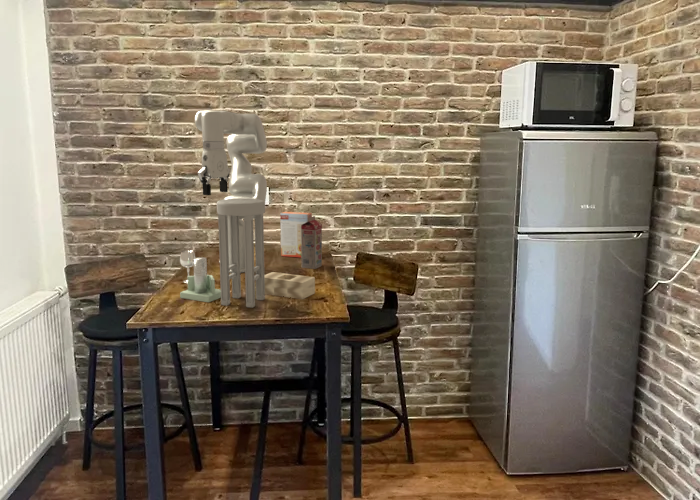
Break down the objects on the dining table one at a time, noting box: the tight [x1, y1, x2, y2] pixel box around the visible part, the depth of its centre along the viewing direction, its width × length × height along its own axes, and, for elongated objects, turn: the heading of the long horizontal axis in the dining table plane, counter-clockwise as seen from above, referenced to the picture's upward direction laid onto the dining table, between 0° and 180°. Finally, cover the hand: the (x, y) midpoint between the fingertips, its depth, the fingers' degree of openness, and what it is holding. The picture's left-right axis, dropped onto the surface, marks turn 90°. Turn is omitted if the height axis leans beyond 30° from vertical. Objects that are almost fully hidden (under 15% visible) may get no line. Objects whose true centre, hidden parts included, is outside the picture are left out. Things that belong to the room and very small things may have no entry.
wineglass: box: [179, 249, 196, 284], centre depth 228 cm, size 6×6×12 cm
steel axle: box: [193, 257, 208, 294], centre depth 205 cm, size 4×4×12 cm
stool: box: [216, 198, 266, 308], centre depth 199 cm, size 16×16×35 cm
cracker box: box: [280, 211, 313, 258], centre depth 275 cm, size 14×6×21 cm, turn 71°
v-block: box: [179, 274, 221, 303], centre depth 207 cm, size 10×12×7 cm
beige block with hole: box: [264, 271, 316, 300], centre depth 213 cm, size 18×9×6 cm, turn 65°
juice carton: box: [301, 215, 323, 270], centre depth 254 cm, size 7×7×22 cm
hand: (215, 193), depth 215 cm, fingers open, 9 cm apart
